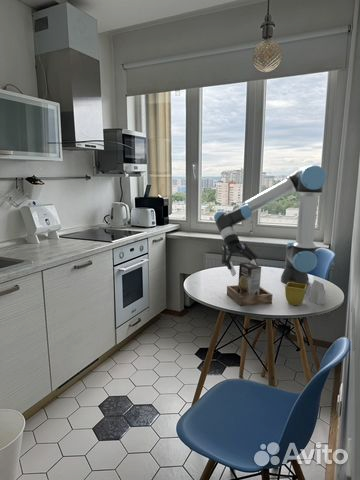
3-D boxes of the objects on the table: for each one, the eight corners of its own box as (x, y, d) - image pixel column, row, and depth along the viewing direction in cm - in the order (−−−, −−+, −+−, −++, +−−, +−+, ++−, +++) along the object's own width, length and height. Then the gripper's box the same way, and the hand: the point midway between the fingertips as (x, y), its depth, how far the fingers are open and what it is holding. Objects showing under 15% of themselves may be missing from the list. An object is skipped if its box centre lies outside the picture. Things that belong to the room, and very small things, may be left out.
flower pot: (286, 298, 161) (288, 281, 159) (305, 302, 157) (307, 284, 155) (283, 304, 153) (285, 286, 151) (303, 308, 149) (305, 289, 147)
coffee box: (237, 294, 162) (238, 263, 159) (247, 293, 165) (249, 261, 162) (248, 301, 154) (250, 267, 151) (259, 299, 157) (261, 266, 154)
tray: (255, 292, 169) (256, 283, 168) (271, 303, 154) (272, 294, 153) (226, 294, 165) (227, 285, 164) (240, 306, 150) (240, 297, 149)
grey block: (317, 304, 154) (319, 284, 152) (309, 299, 161) (311, 279, 159) (324, 304, 155) (326, 283, 153) (315, 298, 161) (317, 279, 160)
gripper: (246, 240, 178) (262, 274, 167) (206, 243, 167) (221, 280, 157) (253, 232, 172) (270, 266, 161) (212, 234, 161) (227, 272, 151)
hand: (246, 273), depth 159 cm, fingers open, 13 cm apart
